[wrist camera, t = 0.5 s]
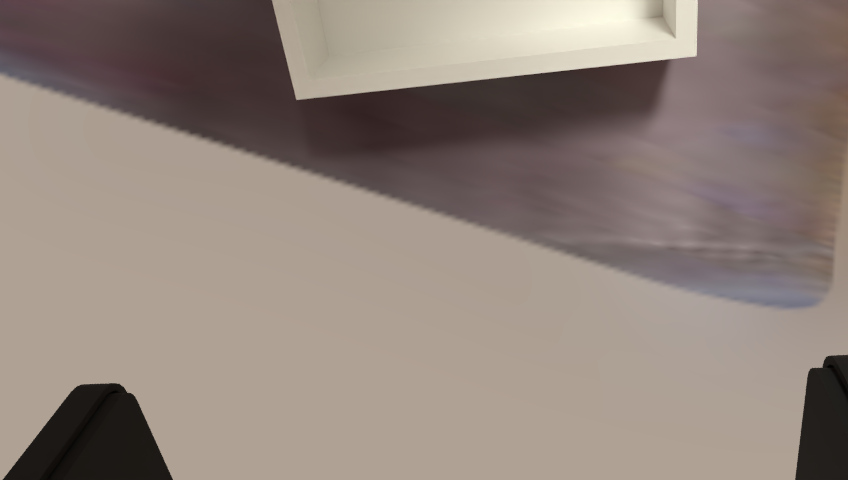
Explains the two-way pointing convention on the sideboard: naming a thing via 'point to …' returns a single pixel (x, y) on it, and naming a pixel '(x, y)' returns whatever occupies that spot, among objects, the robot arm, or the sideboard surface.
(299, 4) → the big crate
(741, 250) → the sideboard surface
